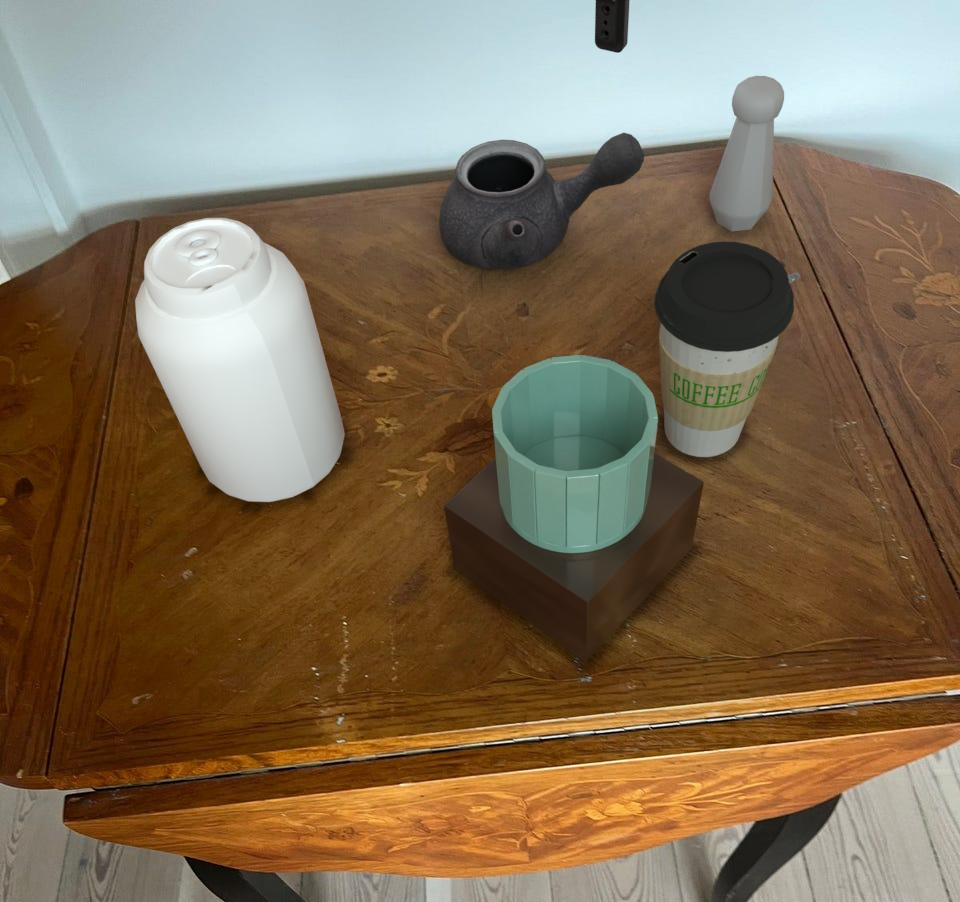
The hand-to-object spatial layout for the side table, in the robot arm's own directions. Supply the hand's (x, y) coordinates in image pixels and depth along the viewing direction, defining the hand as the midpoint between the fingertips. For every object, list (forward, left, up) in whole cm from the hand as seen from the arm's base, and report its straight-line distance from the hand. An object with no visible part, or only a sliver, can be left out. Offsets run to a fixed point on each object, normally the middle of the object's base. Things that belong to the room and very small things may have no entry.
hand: (636, 17), depth 72 cm
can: (+34, -11, -24) cm, 43 cm away
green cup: (+27, +16, -16) cm, 35 cm away
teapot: (0, -10, -24) cm, 26 cm away
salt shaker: (-14, +3, -24) cm, 28 cm away
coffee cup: (+10, +16, -24) cm, 31 cm away
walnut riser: (+27, +16, -24) cm, 39 cm away
